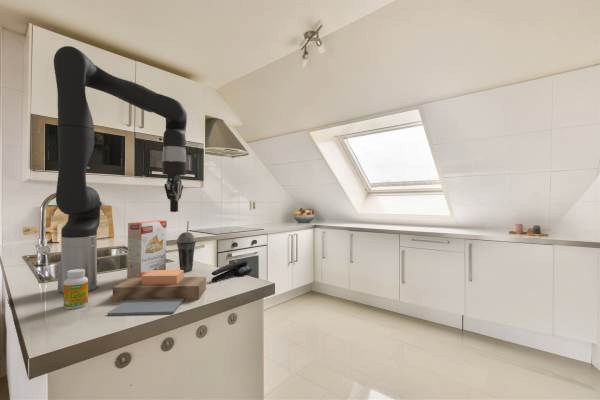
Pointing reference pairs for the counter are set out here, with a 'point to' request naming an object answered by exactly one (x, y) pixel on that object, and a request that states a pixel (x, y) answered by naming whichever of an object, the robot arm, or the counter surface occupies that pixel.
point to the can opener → (232, 270)
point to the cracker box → (146, 247)
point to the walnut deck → (160, 289)
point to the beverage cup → (186, 250)
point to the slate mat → (147, 306)
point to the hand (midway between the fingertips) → (174, 211)
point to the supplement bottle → (75, 289)
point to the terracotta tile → (163, 277)
